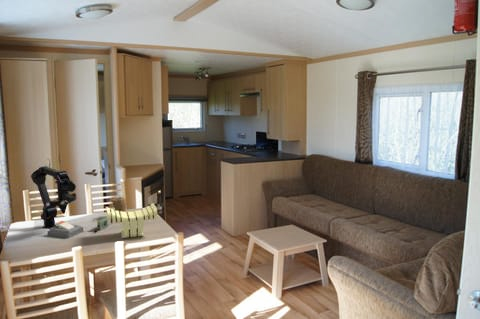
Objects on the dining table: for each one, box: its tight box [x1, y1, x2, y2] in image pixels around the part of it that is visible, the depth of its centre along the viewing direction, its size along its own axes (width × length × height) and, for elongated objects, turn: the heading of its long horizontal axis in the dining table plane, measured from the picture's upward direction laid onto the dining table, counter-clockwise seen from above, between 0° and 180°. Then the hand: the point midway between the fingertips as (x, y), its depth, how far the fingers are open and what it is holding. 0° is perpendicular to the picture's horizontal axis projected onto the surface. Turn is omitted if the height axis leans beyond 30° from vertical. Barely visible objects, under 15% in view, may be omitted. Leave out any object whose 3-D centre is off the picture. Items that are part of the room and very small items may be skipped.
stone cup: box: [111, 196, 129, 218], centre depth 297 cm, size 15×12×15 cm
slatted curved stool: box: [105, 202, 158, 239], centre depth 258 cm, size 30×16×18 cm, turn 110°
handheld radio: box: [93, 213, 113, 233], centre depth 274 cm, size 7×3×25 cm
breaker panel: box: [47, 224, 84, 239], centre depth 261 cm, size 16×14×4 cm
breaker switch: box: [55, 220, 75, 230], centre depth 261 cm, size 10×6×1 cm, turn 74°
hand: (63, 213), depth 266 cm, fingers closed
